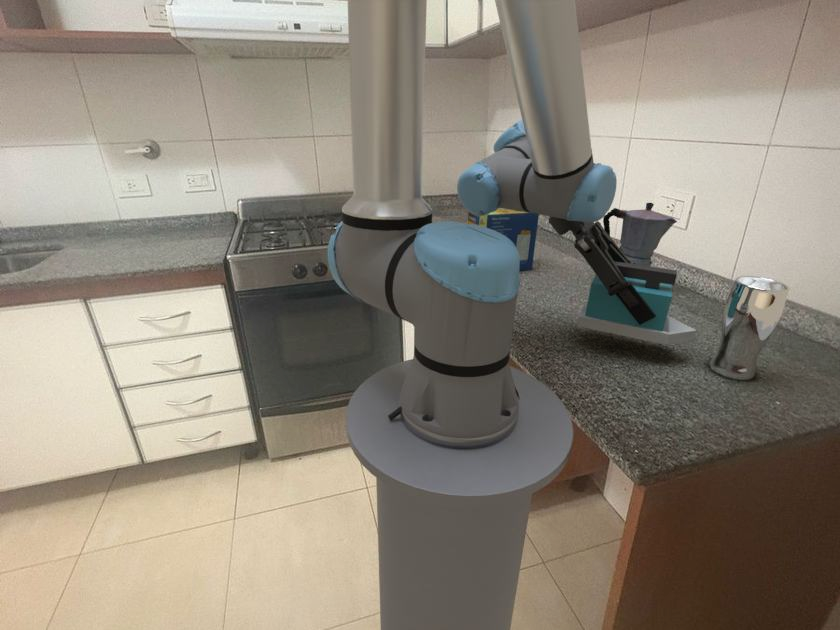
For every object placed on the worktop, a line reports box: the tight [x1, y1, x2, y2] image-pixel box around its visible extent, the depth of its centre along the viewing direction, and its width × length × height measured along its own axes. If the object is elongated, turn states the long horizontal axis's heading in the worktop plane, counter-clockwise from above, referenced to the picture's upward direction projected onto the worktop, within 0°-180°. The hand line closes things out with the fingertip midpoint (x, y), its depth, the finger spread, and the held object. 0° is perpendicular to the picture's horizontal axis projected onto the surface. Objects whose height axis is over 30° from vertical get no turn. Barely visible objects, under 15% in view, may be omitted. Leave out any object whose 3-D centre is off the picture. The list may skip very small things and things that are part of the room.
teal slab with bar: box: [576, 261, 698, 346], centre depth 74 cm, size 18×8×11 cm, turn 62°
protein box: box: [467, 208, 540, 272], centre depth 117 cm, size 10×15×16 cm
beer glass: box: [709, 275, 790, 381], centre depth 68 cm, size 7×7×15 cm
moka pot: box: [602, 202, 678, 267], centre depth 104 cm, size 10×15×20 cm, turn 74°
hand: (648, 311), depth 74 cm, fingers closed on teal slab with bar, 7 cm apart
